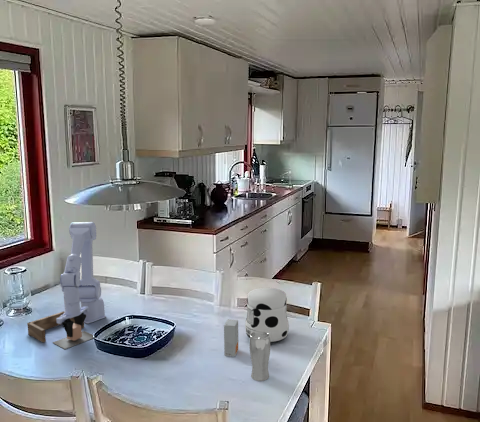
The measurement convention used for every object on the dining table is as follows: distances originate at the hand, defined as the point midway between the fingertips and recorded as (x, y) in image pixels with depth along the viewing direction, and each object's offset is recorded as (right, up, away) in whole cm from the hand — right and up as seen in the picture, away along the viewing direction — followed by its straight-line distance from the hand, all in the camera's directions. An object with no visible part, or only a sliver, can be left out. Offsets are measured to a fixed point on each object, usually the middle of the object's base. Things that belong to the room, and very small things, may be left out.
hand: (74, 334), depth 194 cm
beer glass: (+73, -7, -30) cm, 79 cm away
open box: (-6, -2, +5) cm, 8 cm away
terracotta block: (0, -1, 0) cm, 2 cm away
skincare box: (+63, -4, -12) cm, 64 cm away
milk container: (+77, -2, +1) cm, 77 cm away
